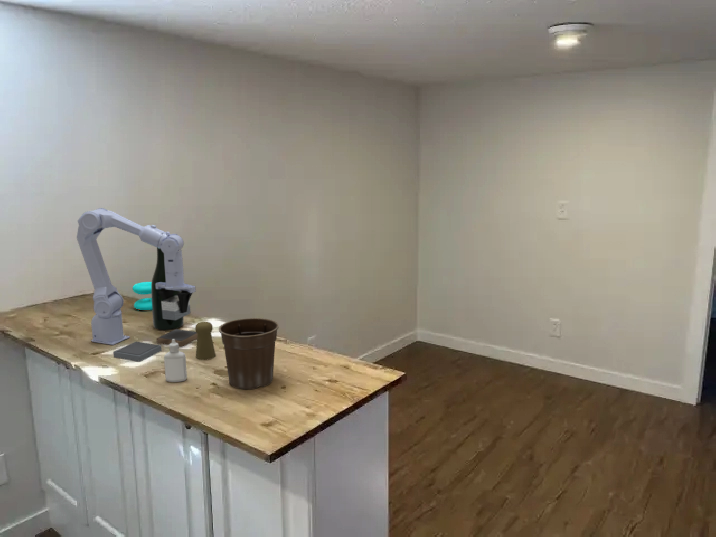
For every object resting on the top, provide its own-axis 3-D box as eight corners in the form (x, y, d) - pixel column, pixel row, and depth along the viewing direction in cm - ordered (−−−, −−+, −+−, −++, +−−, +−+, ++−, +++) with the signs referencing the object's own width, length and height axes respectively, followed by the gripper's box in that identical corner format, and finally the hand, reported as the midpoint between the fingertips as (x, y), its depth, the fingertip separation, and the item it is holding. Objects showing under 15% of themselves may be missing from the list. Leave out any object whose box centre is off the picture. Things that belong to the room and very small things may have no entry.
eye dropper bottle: (178, 384, 156) (175, 343, 154) (163, 380, 159) (160, 340, 156) (189, 378, 160) (186, 338, 158) (174, 375, 163) (171, 335, 160)
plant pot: (230, 369, 167) (227, 316, 164) (284, 369, 167) (283, 317, 163) (214, 392, 151) (211, 335, 148) (274, 393, 151) (273, 336, 147)
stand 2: (157, 343, 188) (156, 337, 188) (176, 333, 197) (176, 328, 197) (181, 347, 185) (181, 341, 184) (200, 337, 194) (200, 331, 193)
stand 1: (113, 357, 176) (113, 351, 175) (136, 346, 185) (136, 340, 184) (139, 361, 172) (139, 355, 172) (161, 350, 182) (161, 344, 181)
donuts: (144, 280, 232) (164, 282, 228) (146, 303, 234) (165, 306, 230) (126, 285, 223) (147, 288, 219) (128, 310, 225) (149, 312, 221)
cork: (210, 360, 173) (208, 326, 171) (192, 359, 175) (189, 325, 172) (218, 353, 179) (217, 320, 177) (201, 352, 180) (199, 319, 178)
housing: (162, 318, 186) (161, 301, 185) (178, 311, 193) (177, 294, 192) (175, 320, 184) (173, 302, 183) (190, 313, 192) (189, 296, 190)
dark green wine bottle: (147, 327, 204) (140, 236, 197) (171, 320, 213) (165, 233, 205) (165, 332, 198) (158, 239, 191) (190, 325, 207) (184, 235, 200)
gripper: (148, 272, 185) (151, 312, 188) (184, 276, 180) (187, 317, 183) (162, 268, 191) (165, 306, 194) (198, 271, 186) (200, 311, 189)
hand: (177, 311), depth 189 cm, fingers closed on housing, 5 cm apart
